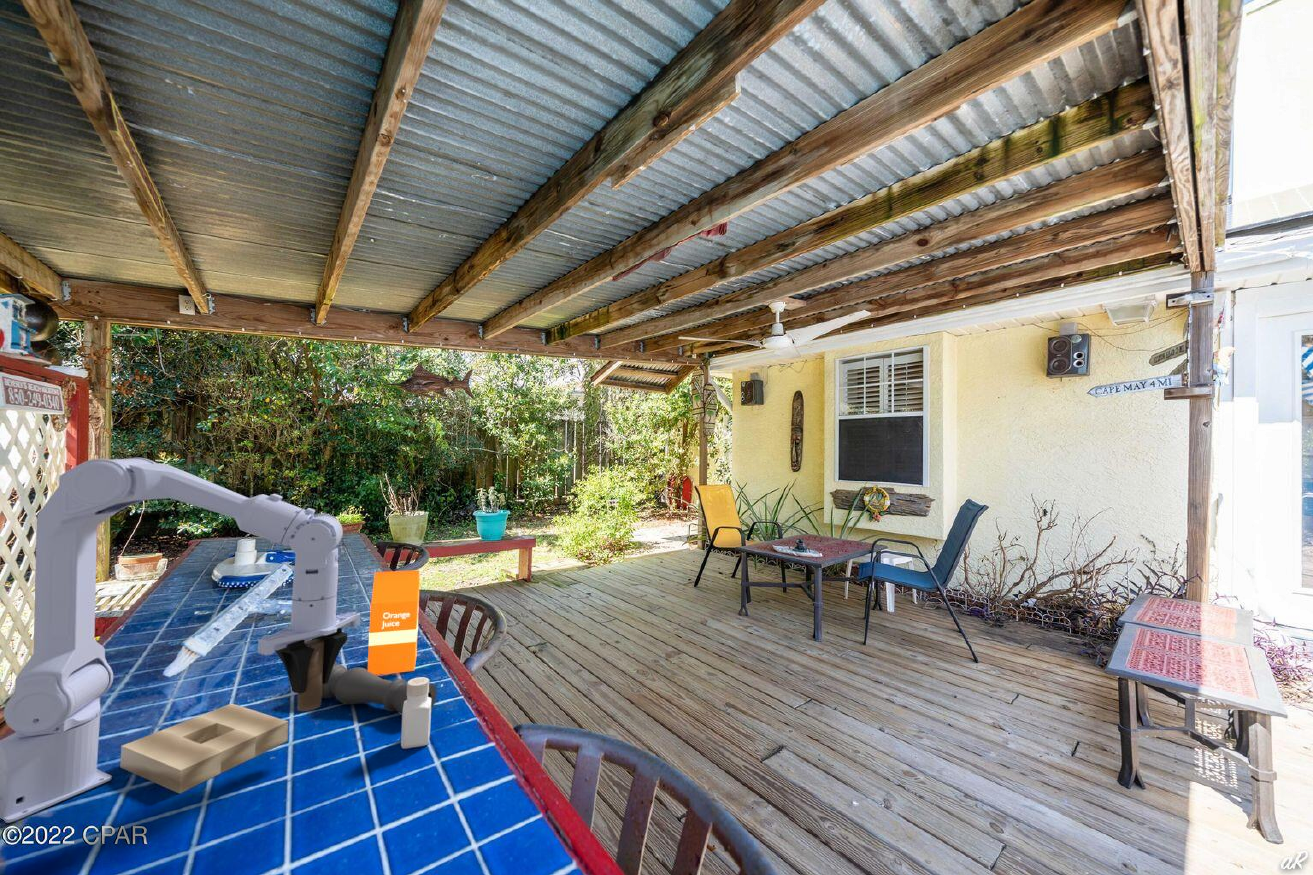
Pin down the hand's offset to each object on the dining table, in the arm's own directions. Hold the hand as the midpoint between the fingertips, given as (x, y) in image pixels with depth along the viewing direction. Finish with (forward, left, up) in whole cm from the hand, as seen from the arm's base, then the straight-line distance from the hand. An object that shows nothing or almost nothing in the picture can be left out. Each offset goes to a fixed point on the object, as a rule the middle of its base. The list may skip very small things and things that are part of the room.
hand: (310, 686), depth 80 cm
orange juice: (+29, +15, -10) cm, 34 cm away
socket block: (-6, +13, -10) cm, 17 cm away
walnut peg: (0, 0, -3) cm, 3 cm away
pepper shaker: (+9, -12, -10) cm, 18 cm away
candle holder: (+13, +18, -7) cm, 23 cm away
